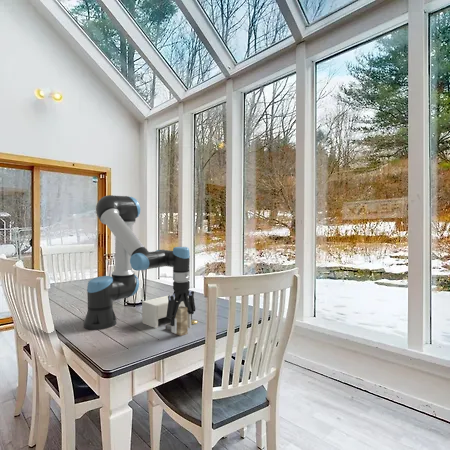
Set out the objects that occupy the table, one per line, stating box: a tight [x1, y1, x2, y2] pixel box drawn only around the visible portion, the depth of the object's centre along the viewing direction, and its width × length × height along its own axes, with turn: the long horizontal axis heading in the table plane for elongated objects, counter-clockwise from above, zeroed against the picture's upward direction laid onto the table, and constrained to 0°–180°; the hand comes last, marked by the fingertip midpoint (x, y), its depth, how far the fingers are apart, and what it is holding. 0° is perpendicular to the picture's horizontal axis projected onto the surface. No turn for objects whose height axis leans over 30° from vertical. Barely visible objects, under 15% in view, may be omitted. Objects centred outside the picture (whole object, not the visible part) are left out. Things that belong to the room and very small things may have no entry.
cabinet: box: [141, 294, 189, 329], centre depth 165 cm, size 22×11×11 cm, turn 138°
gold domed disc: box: [191, 319, 199, 325], centre depth 162 cm, size 4×4×1 cm
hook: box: [164, 306, 188, 337], centre depth 154 cm, size 17×12×12 cm
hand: (181, 330), depth 146 cm, fingers open, 8 cm apart
